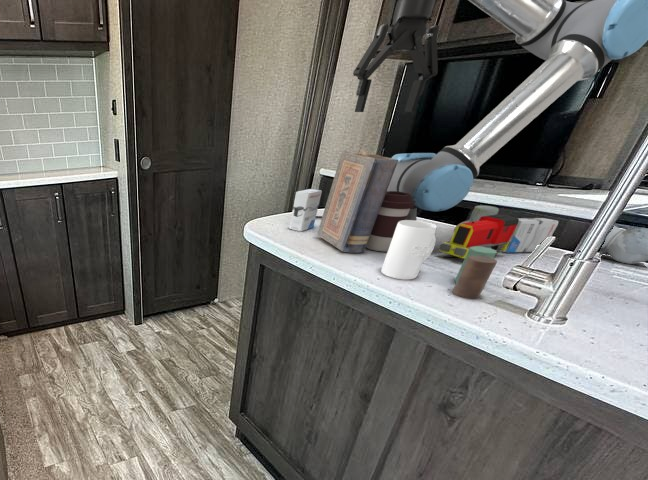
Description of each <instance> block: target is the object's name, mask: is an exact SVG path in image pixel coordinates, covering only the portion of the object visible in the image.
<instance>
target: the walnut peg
mask: <svg viewBox="0 0 648 480" xmlns="http://www.w3.org/2000/svg"><path fill="white" fill-rule="evenodd" d="M497 263H498V260H497V259H495V258H490V257H486V256H479V255H472V256H469V257H468V259H467V262H466V264H465V266H464V268H463V270H462V272H461V274H460V276H459V279H458V281H457V283H456V282H455V285H454V287H453V289H452V293H453V294H454V295H455V296H458V297H460V298H465V299H478V298H480V296H481V294H482V292H483V291H484V288H485V286H486V284H487V282H488V280H489V279H490V276H491V275H492V273H493V271H494V269H495V267H496V265H497Z"/></svg>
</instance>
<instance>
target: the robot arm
mask: <svg viewBox="0 0 648 480" xmlns="http://www.w3.org/2000/svg"><path fill="white" fill-rule="evenodd" d="M467 1H469V3H471V4H473V5H474V6H476V7H477V8H478V9H479V10H481V11H482V12H484V14H487V15H488V16H490V17H491V18H492V19H494V20H495V21H496V22H498V23H499V24H501V25H502V26H503V27H505V28H506V29H508V30H509V31H510V32H512V33H513V34H515V37H514V40H515V43H517V44H518V46H519V45H520V46H521V47H522V48H523V49H525V50H526V51H528V52H530V53H531V54H533V55H534V56H536V57H538V58H539V59H542V60H544V62H542V64H541V65H540V66H539V67H538V68H537V69H535V70H534V71H533V72H532V73H531V74H530V75H529V76H528V77H527V78H526V79H525V80H524V81H522V83H520V84H519V85H518V86H516V88H515V89H514V90H513V91H512V92H511V93H510V94H509V95H507V96H506V97H505V98H504V99H503V100H502V101H501V102H500V103H498V105H497V106H495V108H493V109H492V110H491V111H490V112H489V113H487V115H486V116H485V117H483V119H482V120H480V121H479V122H478V123H477V124H476V125H475V126H474V127H472V129H470V130H469V131H468V132H467V133H466V134H465V135H464V136H463V137H462V138H461V139H460V140H458V141H457V142H456V144H453V145H446V146H444V147H443V148H442V149H441V150H439V151H438V152H437V153H434V152H412V153H411V152H410V153H409V152H408V153H396V154H394V155H393V156H391V158H392V159H396V160H398V163H397V165H396V168H395V171H394V173H393V176H392V179H391V181H390V184H389V186H388V189H387V191H397V192H405V193H409V194H410V195H411V199H412V200H414V201H415V204H414V207H413V208H411V209H410V210H409V213H408V217H407V219H406V220H416V221H417V215H418V214H417V211H418V209H420V210H422V211H429V212H442V211H447V210H450V209H452V208H453V207H455V206H457V205H458V204H459V203H461V202H462V201H463V200H465V198H466V197H467V195H468V194H469V193H470V191H471V190H470V189H471V187H473V184H474V179H476V178H478V176H479V174H480V167H481V166H482V165H483V164H484V163H486V162H487V161H488V160H489V159H491V157H492V156H494V155H495V154H496V153H497V152H498V151H499V150H500V149H501V148H502V147H504V146H505V145H506V144H508V142H509V141H511V140H512V139H513V138H514V137H515V136H517V135H518V134H519V133H520V132H521V131H522V130H524V128H526V127H527V126H528V125H529V124H530V123H531V122H532V121H533V120H534V119H536V118H537V117H539V115H541V113H543V112H544V111H545V110H546V109H548V107H549V106H550V105H551V104H553V103H554V102H555V101H556V100H557V99H558V98H559V97H561V96H562V95H563V94H565V92H567V90H569V89H570V88H571V87H573V85H575V84H576V83H577V82H579V81H580V82H581V81H586V80H589V79H591V78H593V76H595V75H596V74H597V73H598V72H599V71H600V70H602V69H603V68H604V67H605V66H606V65H608V63H610V62H611V61H613V60H615V61H616V60H621V59H624V58H626V57H628V56H631V55H633V54H634V53H637V52H638V50H640V49H641V48H642V47H643V46H644V45H645V44H646V43H647V42H648V0H589V1H585V2H584V1H583V2H571V1H567V0H467ZM435 3H436V0H397V1H396V4H395V5H396V6H395V9H394V12H393V16H392V24H391V25H389V24H388V23H385V24H381V25H379V26H378V27H377V29H376V31H375V34H374V37H373V39H372V40H371V43H370V44H369V45H368V47H367V49H366V51H365V52H364V54H363V56H362V57H361V59H360V60H359V62H358V63H357V66H355V68H354V70H353V73H352V76H353V77H357V80H359V81H358V85H357V89H356V95H355V96H358V97H357V101H356V104H355V108H354V113H364V111H365V108H366V103H367V100H368V96H369V93H370V88H371V85H372V81H373V79H372V78H370V77H371V76H372V75H373V74H374V72H375V71H377V69H378V68H379V67H380V66H381V65H382V64H383V62H384V61H386V59H387V58H388V57H389V56H390V55H391V54H392V53H393V52H408V54H409V55H410V57H411V61H412V64H413V67H414V70H415V73H416V77H417V79H414V80H413V83H412V86H411V89H410V92H409V95H408V99H407V101H406V105H405V108H404V111H403V112H404V113H415V111H416V107H417V104H418V102H419V98H420V96H422V95H423V93H424V90H425V88H426V84H427V81H428V80H430V79H431V78H433V77H436V76H437V75H438V73H439V71H438V69H439V68H438V67H439V66H438V34H439V30H440V26H439V24H437V25H433V26H428V25H427V23H428V21H429V19H430V18H431V16H432V12H433V10H434V6H435ZM427 26H428V27H427ZM387 37H388V39H389V40H388V41H387V42H386V43H385V45H384V46H383V47H382V48H381V50H380V51H379V53H378V54H377V52H378V50H379V49H380V47H381V46H382V45H383V43H384V41H385V39H386V38H387ZM422 38H423V39H424V42H423V41H422ZM423 43H424V44H423ZM423 49H424V50H423ZM376 54H377V55H376ZM369 78H370V79H369ZM322 216H323V215H316V218H315V219H322Z"/></svg>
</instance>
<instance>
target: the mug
mask: <svg viewBox="0 0 648 480" xmlns="http://www.w3.org/2000/svg"><path fill="white" fill-rule="evenodd" d="M437 228H438V226H437V225H436V224H435V223H431V222H428V221H424V220H417V219H416V220H402V221H399V222H398V224H397V227H396V230H395V232H394V235H393V238H392V241H391V244H390V247H389V249H388V251H387V252H386V255H385V258H384V261H383V265H382V267H381V270H380V271H381V273H382V274H383V275H385V276H387V277H389V278H393V279H397V280H414V279H416V278H417V277H418V275H419V273H420V270H421V268H422V265H423V263H424V261H426V260H427V259H428V258H429V257H430V255H431V254H432V253H433V251H434V248H435V245H436V234H435V233H436V231H437Z"/></svg>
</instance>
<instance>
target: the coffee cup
mask: <svg viewBox="0 0 648 480" xmlns="http://www.w3.org/2000/svg"><path fill="white" fill-rule="evenodd" d="M414 204H415V201H414V200H412V199H411V195H410V194H409V193H405V192H397V191H387V192H386V194H385V197H384V200H383V202H382V205H381V208H380V210H379V213H378V215H377V218H376V221H375V223H374V226H373V229H372V231H371V234H370V237H369V239H368V242H367V244H366V247H365V248H367V249H369V250H371V251H373V252H374V251H375V252H381V253H383V252H384V253H387V252H388V249H389V247H390V244H391V241H392V238H393V235H394V232H395V230H396V227H397V224H398V222H399V221H402V220H406V219H407V217H408V213H409V210H410V209H411V208H413V207H414Z"/></svg>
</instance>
